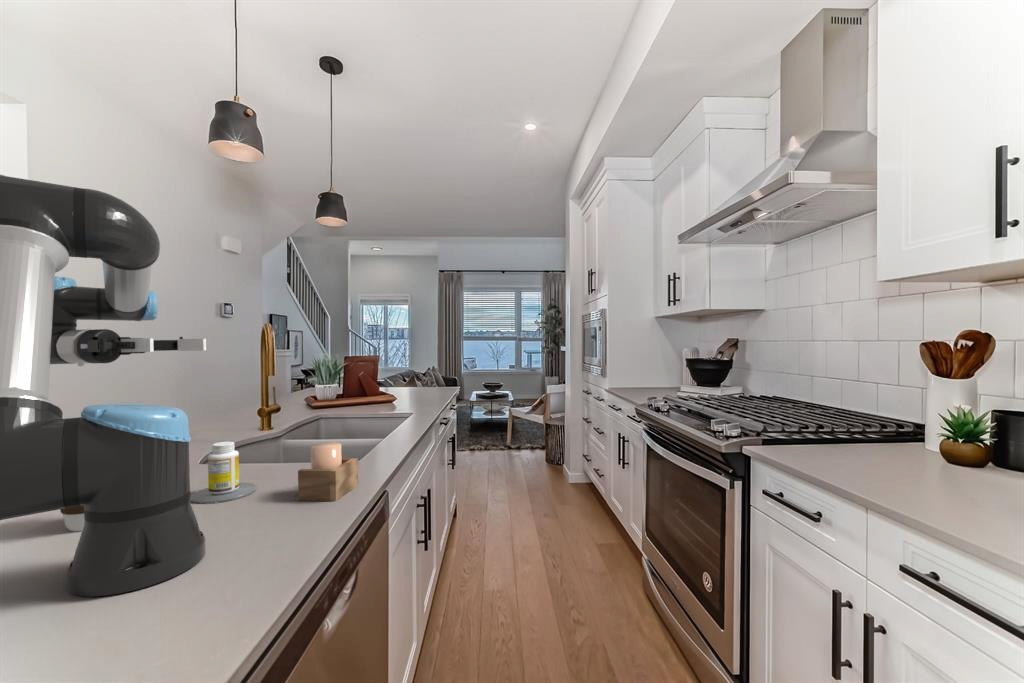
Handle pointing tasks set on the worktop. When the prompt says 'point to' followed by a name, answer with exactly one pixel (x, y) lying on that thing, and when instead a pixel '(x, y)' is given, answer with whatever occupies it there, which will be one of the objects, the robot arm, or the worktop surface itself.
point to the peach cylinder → (326, 455)
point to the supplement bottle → (223, 468)
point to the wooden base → (327, 481)
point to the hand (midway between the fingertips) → (180, 344)
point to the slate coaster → (206, 497)
